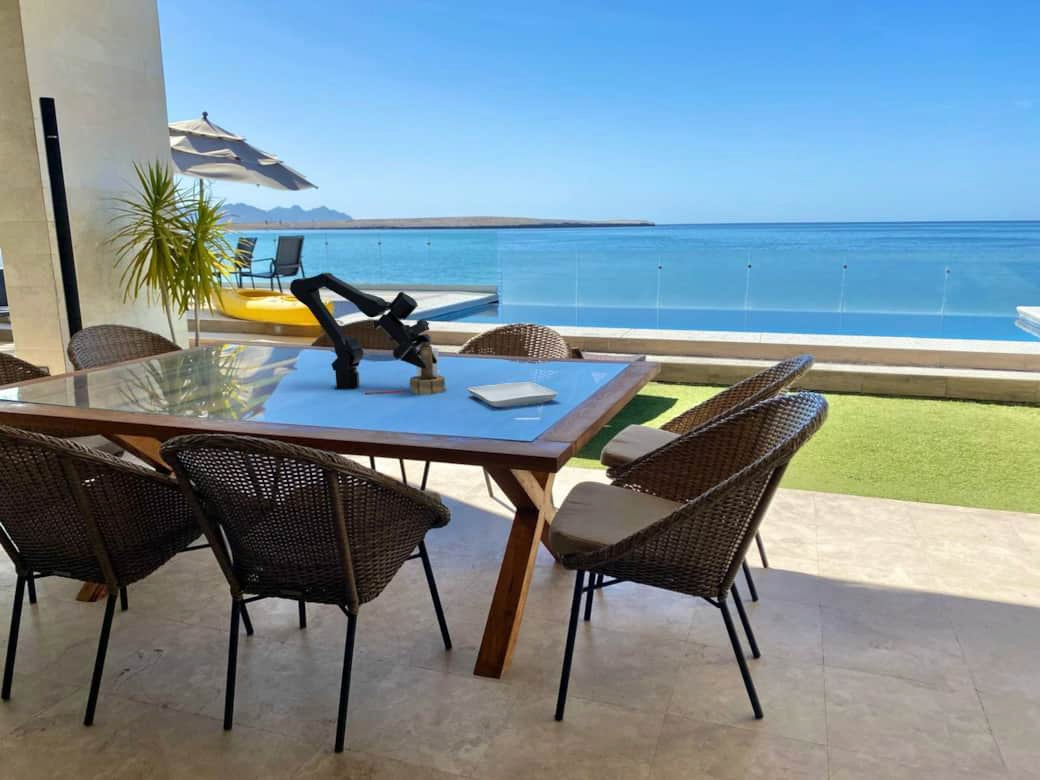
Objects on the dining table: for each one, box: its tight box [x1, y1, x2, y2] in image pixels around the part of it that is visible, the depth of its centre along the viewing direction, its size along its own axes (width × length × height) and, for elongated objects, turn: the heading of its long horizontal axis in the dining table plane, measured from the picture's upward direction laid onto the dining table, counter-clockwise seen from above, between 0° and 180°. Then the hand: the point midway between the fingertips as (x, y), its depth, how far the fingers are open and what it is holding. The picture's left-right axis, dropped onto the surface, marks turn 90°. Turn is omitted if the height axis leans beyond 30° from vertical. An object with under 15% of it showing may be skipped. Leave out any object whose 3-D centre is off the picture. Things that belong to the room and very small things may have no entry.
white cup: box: [416, 347, 439, 376], centre depth 261 cm, size 8×8×10 cm
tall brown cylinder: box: [420, 342, 433, 380], centre depth 241 cm, size 4×4×15 cm
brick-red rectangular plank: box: [364, 389, 405, 395], centre depth 240 cm, size 12×1×1 cm, turn 100°
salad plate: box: [467, 381, 559, 408], centre depth 227 cm, size 21×21×3 cm
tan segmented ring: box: [409, 374, 446, 395], centre depth 242 cm, size 10×10×4 cm
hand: (430, 365), depth 240 cm, fingers open, 9 cm apart
